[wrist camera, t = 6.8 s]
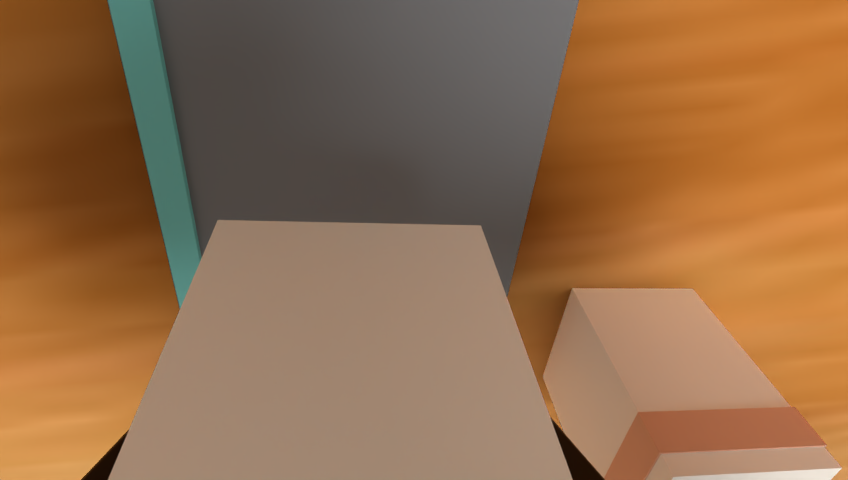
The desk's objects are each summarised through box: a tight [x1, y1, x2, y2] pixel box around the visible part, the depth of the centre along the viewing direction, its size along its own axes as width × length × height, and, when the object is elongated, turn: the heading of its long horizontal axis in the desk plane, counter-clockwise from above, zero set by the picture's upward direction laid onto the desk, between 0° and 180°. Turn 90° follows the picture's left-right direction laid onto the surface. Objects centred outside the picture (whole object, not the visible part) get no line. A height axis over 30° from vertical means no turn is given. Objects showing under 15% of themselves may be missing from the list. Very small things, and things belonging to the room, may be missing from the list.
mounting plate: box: [107, 0, 579, 309], centre depth 14 cm, size 14×10×1 cm
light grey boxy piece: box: [543, 288, 842, 480], centre depth 17 cm, size 5×5×7 cm
